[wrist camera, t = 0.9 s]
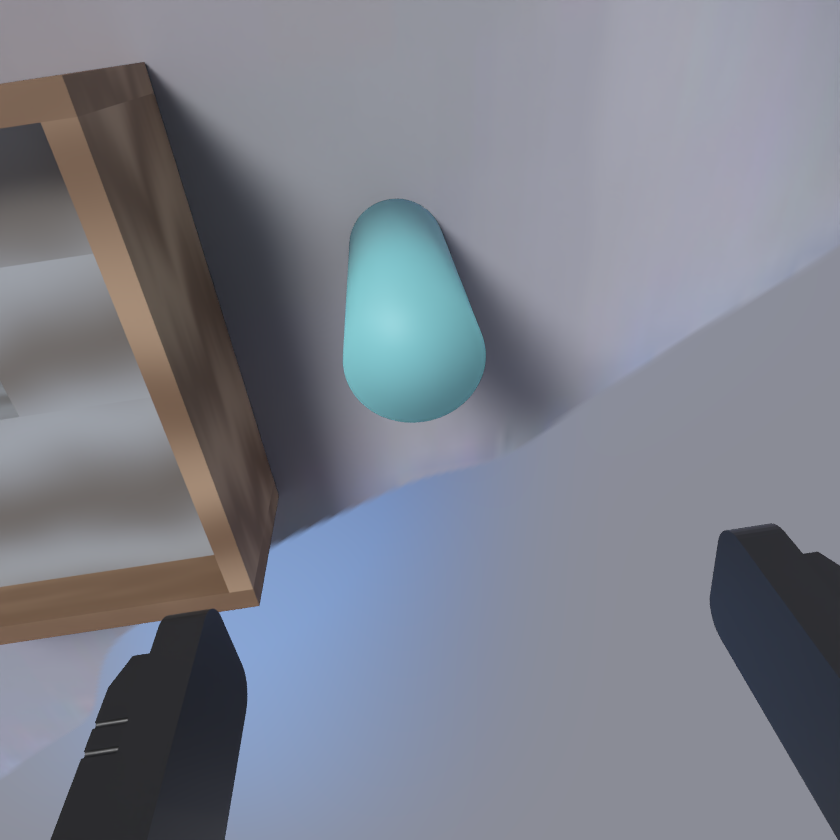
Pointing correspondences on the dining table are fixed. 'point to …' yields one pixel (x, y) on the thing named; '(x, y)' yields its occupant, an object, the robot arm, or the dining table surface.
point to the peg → (407, 317)
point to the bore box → (115, 376)
